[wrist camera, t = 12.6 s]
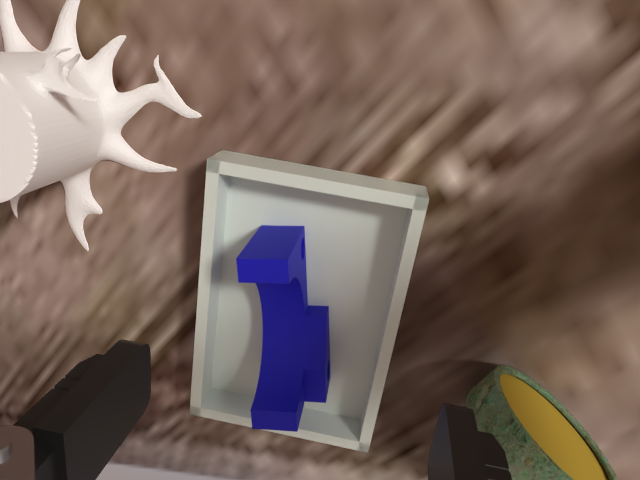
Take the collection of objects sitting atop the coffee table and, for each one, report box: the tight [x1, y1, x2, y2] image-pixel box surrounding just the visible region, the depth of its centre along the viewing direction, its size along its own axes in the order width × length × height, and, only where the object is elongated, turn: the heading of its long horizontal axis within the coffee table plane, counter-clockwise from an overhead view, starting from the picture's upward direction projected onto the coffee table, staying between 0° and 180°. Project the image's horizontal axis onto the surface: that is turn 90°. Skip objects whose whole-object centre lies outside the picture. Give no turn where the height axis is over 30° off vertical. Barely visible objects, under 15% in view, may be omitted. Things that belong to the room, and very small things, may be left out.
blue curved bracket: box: [236, 225, 331, 432], centre depth 33 cm, size 12×4×6 cm, turn 2°
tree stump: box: [0, 0, 202, 251], centre depth 30 cm, size 20×19×8 cm
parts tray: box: [190, 150, 429, 453], centre depth 35 cm, size 14×20×3 cm
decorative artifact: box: [466, 365, 618, 480], centre depth 33 cm, size 10×7×10 cm
